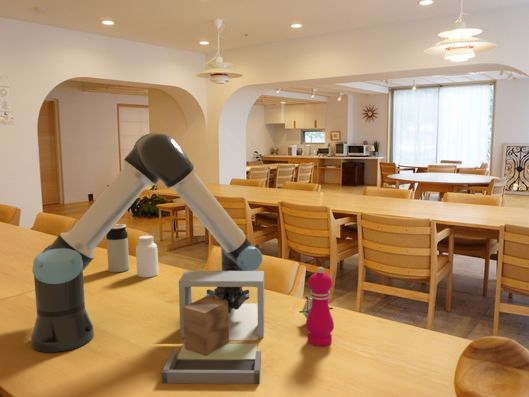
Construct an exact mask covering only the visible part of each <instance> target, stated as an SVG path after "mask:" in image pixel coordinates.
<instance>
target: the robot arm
mask: <svg viewBox="0 0 529 397" xmlns="http://www.w3.org/2000/svg"><path fill="white" fill-rule="evenodd" d="M122 164H123V168H122V169H121V170H120V172H118V174H117V175H116V177H114V178H113V180H112V181H111V183H109V184H108V185H107V187H106V188H105V189H104V191H103V192H102V193H101V194H100V195H99V196H98V198H97V199H96V200H95V201H94V202H93V204H91V206H90V207H89V208H88V209H87V210H86V212H85V213H84V214H83V215H82V216H81V218H80V219H79V220H78V221H76V223H75V225H73V227H72V228H71V229H70V230H69V231H67V232H66V231H65V232H61V233H60V234H59V235H58V236H57V237H56V238H55V240H53V242H52V243H51V244H49V245H48V246H47V247H45V248H44V249H43V251H42V252H40V253H39V254H38V255H36V256H35V257H34V258H33V260H32V261H33V263H32V274H33V279H34V292H35V305H36V306H35V308H36V318H35V322H34V324H33V325H34V327H33V329H32V334H31V339H30V340H31V347H32V349H34V350H35V349H36V350H35V351H37V350H39V351H38V352H40V351H42V352H41V353H61V352H60V351H62V352H66V350H67V351H71V350H75V349H77V347H78V348H79V347H82V346H84V345H86V344H88V343H89V342H91V340H93V338H94V336H95V332H94V331H95V330H94V324H93V323H92V321H91V318H90V316H89V314H88V311H87V310H86V302H85V287H84V285H85V284H84V270H86V268H87V267H88V266H89V264H90V263H91V262H92V261H93V259H94V258H95V249H96V248H97V247H98V245H99V244H100V243H101V241H103V240H104V238H105V237H106V235H107V233H108V232H109V231H110V230H111V229H112V227H113V226H114V225H115V224H118V222H119V220H120V219H121V218H122V217H123V215H124V214H125V213H126V212H127V211H128V209H129V208H131V206H132V205H133V204H134V202H135V201H136V200H137V199H138V198H139V196H140V195H141V194H142V193H143V191H145V189H146V188H147V187H151V186H155V185H156V184H157V183H158V182H159V180H160V181H161V182H162V183H163V184H164V186H166V187H167V188H168V189H170V190H174V192H175V193H176V194H177V195H178V197H180V199H181V200H182V201H183V203H185V205H186V206H187V207H188V208H189V210H190V211H191V212H192V213H193V214H194V215H195V216H196V218H197V219H198V220H199V221H200V223H201V224H202V225H203V226H204V227H205V229H206V230H207V231H208V232H209V233H210V234H211V235H212V237H213V239H215V240H216V241H217V243H218V244H219V245H220V251H221V252H220V253H221V255H220V257H221V271H258V269H259V268H260V267H261V266H262V263H263V254H262V252H261V251H260V250H259V249H258V247H256V246H254V244H252V242H251V241H250V240H249V238H248V237H247V236H246V235H245V233H244V230H242V229H240V227H239V225H237V223H236V222H235V221H234V219H233V218H232V217H231V216H230V214H229V213H228V212H227V211H226V210H225V208H224V207H223V206H222V205H221V203H220V202H219V201H218V200H217V198H216V197H215V196H214V195H213V193H212V192H211V191H210V190H209V188H208V187H207V186H206V185H205V184H204V182H203V180H202V179H201V178H200V177H199V176H198V175H197V173H196V172H195V171H196V166H195V165H194V164H193V162H192V161H191V160H190V158H189V157H188V155H187V154H186V153H185V151H184V149H183V148H182V147H181V146H180V144H179V143H178V142H177V140H176V139H175V138H173V137H171V135H169V134H164V133H156V132H153V133H147V134H145V135H142V136H140V137H139V138H138V139H137V140H136V141H135V143H134V145H133V147H132V149H131V151H129V153H128V154H127V155H126V156H125V158H124V159H123V161H122ZM206 296H209V297H213V298H217V299H221V300H226V301H228V313H230V312H231V310H232V308H234V309H236V310H237V309H239V307H240V306H241V305H242V304H243V303H245V301H247V300H249V299H250V290H249V289H245V290H243V287H215V289H214V290H211V289H209V288H208V289H206ZM74 348H75V349H74ZM70 349H71V350H70Z"/></svg>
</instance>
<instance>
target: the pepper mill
mask: <svg viewBox="0 0 529 397" xmlns="http://www.w3.org/2000/svg"><path fill="white" fill-rule="evenodd" d="M324 271H325V269H324V267H322V266H319V267H317V269H316V272H314V273H313V274H311V275H310V276H309V279H308V287H309V288H310V289H311V290H310V298H312V307H311V310H310V313H309V315H308V317H307V318H306V322H305V328H306V330H307V331H308V332H307V342H308V343H309V344H310V345H312V346H314V347H315V346H317V347H327V346H328V345H331V344H332V342H333V339H332V338H333V336H332V332H333V331H334V329H335V328H334V326H335V322H334V319H333V317H332V314H331V310H330V311H329V307H330V306H329V299H330V297H331V295H330V294H331V292H330V290H331V288H332V287H333V281H332V277H331V276H330V275H329V274H327V273H326V272H324ZM328 306H329V307H328Z"/></svg>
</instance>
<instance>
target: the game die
mask: <svg viewBox="0 0 529 397" xmlns="http://www.w3.org/2000/svg"><path fill="white" fill-rule="evenodd" d="M305 299H306V301H305V304H304V306H303V308H302V310H300V311H299V314H300V313H301V314H303V315H304V316H305V318H306V319H307V317H308V315H309V313H310V310H311V307H312V297H308V296H306V295H305ZM328 307H329V311H330V312H331V310H334V307H330V305H328Z"/></svg>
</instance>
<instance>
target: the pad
mask: <svg viewBox="0 0 529 397" xmlns="http://www.w3.org/2000/svg"><path fill="white" fill-rule="evenodd" d="M256 351H258V343H226V344H225V345H223V346H221V347H220V348H218V349H217V350H215V351H214V352H212V353H210V354H209V355H207V356H205V355H202V354H199V353H196V352H193V351H190V350H187V349H185V342H184V343H183V344H182V347H181V349H180V351H179V354H177V360H255V356H256Z"/></svg>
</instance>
